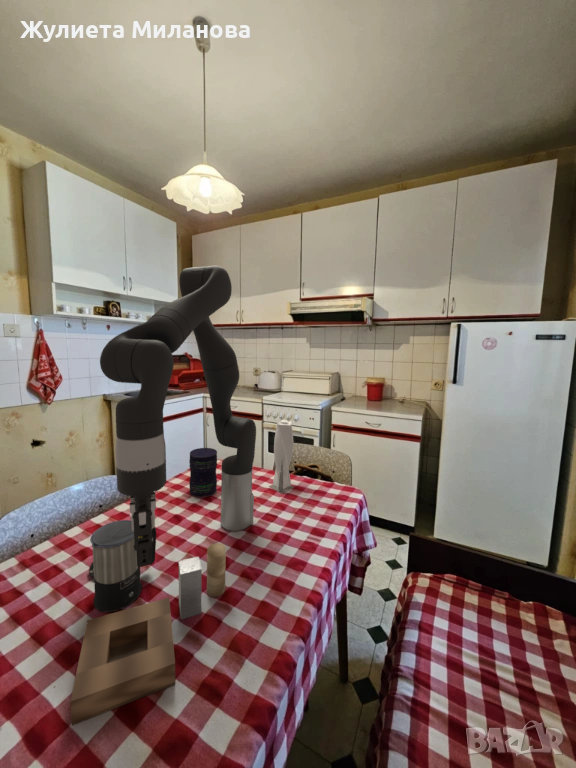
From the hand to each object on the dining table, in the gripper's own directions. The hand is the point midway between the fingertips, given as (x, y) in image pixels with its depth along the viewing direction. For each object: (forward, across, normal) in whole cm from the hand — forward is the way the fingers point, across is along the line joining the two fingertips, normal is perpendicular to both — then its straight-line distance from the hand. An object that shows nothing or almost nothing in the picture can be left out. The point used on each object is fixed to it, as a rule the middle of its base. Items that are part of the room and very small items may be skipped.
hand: (144, 548), depth 54 cm
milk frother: (+20, +18, +7) cm, 27 cm away
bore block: (+19, -2, +3) cm, 19 cm away
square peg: (+19, +5, -8) cm, 21 cm away
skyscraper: (+21, +50, -48) cm, 72 cm away
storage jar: (+20, +56, -19) cm, 62 cm away
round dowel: (+19, +8, -14) cm, 25 cm away
